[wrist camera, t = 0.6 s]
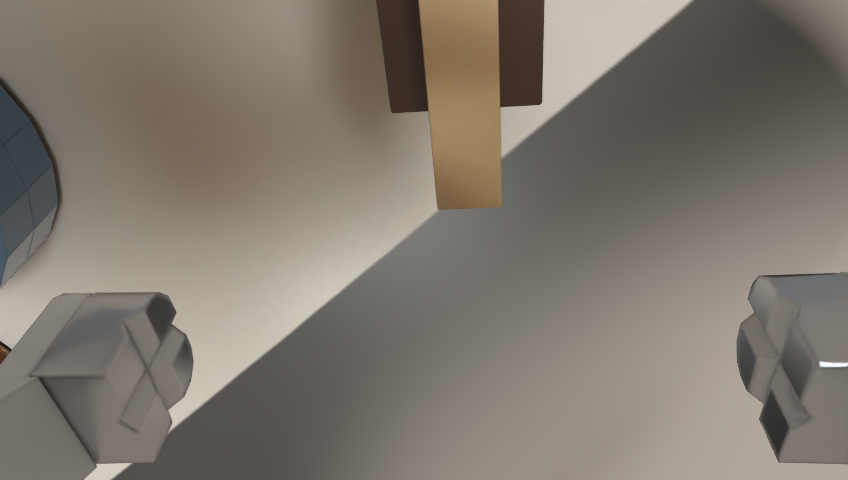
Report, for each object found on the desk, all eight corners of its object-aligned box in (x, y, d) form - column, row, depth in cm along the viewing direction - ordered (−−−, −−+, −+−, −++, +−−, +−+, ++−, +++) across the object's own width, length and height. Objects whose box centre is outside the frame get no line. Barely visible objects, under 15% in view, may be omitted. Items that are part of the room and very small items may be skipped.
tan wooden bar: (403, -221, 16) (397, -220, 15) (492, -231, 16) (493, -230, 14) (438, 188, 23) (437, 210, 22) (500, 185, 23) (502, 207, 22)
